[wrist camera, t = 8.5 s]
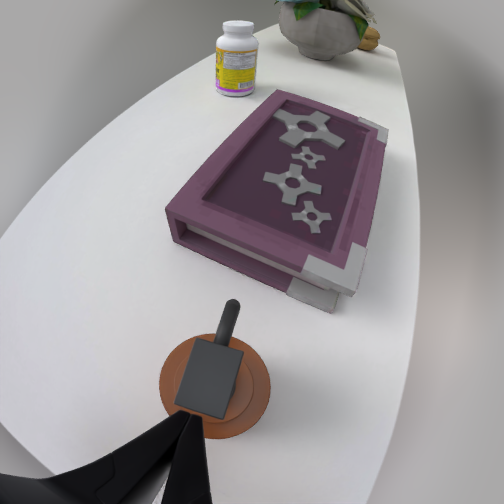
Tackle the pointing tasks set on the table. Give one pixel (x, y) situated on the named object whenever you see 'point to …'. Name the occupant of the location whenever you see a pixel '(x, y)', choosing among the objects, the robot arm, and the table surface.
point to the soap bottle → (243, 396)
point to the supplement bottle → (236, 59)
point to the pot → (369, 39)
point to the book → (287, 198)
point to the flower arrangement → (324, 25)
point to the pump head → (212, 369)
